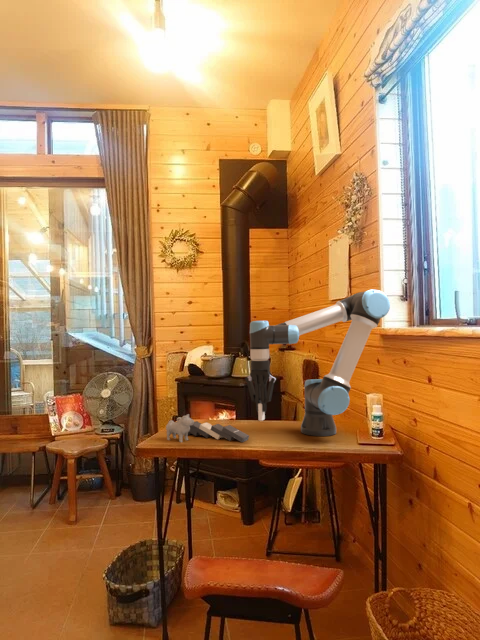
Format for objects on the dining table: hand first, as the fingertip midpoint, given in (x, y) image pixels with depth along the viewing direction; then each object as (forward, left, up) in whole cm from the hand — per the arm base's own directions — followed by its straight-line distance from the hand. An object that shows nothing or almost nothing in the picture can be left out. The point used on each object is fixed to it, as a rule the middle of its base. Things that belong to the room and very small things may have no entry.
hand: (261, 419), depth 177 cm
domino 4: (+12, 0, -8) cm, 15 cm away
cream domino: (+18, 0, -8) cm, 20 cm away
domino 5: (+7, 0, -8) cm, 11 cm away
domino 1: (+34, 0, -8) cm, 35 cm away
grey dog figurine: (+31, +10, -9) cm, 34 cm away
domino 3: (+23, 0, -8) cm, 24 cm away
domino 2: (+28, 0, -8) cm, 29 cm away
